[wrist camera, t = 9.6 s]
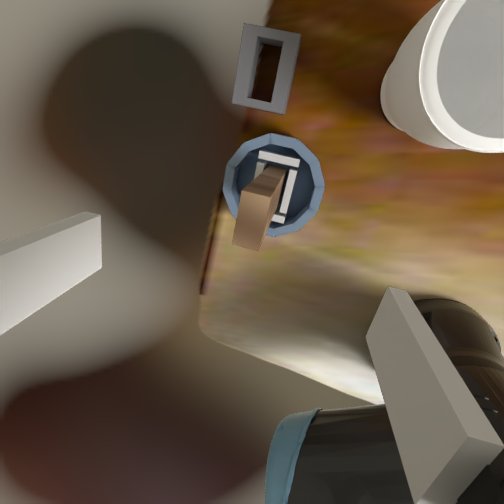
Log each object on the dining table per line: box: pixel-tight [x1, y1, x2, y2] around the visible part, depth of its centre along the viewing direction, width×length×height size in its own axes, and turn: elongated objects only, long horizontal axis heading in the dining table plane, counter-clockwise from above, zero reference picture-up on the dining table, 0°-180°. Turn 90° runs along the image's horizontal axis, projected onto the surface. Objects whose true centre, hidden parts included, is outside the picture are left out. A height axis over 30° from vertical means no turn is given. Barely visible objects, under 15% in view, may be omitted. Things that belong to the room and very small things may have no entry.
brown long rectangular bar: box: [232, 165, 287, 251], centre depth 27 cm, size 4×2×16 cm, turn 168°
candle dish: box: [222, 133, 325, 237], centre depth 34 cm, size 11×11×4 cm
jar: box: [380, 0, 504, 153], centre depth 23 cm, size 11×10×15 cm
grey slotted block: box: [232, 23, 301, 115], centre depth 30 cm, size 7×6×2 cm
